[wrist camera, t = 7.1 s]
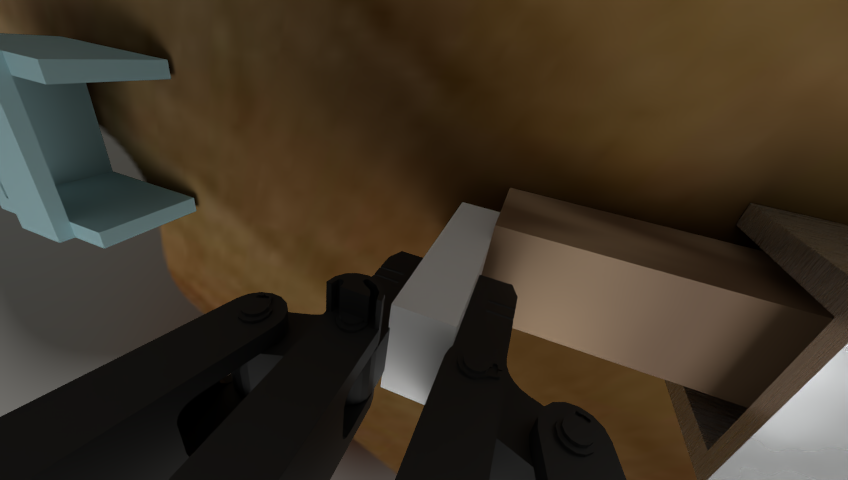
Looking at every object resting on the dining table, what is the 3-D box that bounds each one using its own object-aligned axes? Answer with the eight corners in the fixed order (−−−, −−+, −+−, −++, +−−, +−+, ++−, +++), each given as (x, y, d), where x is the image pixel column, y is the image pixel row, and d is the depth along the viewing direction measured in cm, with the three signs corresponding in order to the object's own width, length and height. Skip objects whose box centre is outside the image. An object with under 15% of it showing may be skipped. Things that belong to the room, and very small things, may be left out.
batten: (490, 259, 16) (470, 313, 12) (510, 185, 14) (495, 225, 11) (807, 354, 13) (893, 457, 10) (881, 278, 11) (1018, 370, 8)
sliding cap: (106, 180, 21) (-15, 212, 17) (60, 36, 17) (-112, 27, 13) (196, 210, 20) (89, 254, 15) (167, 59, 16) (14, 59, 11)
